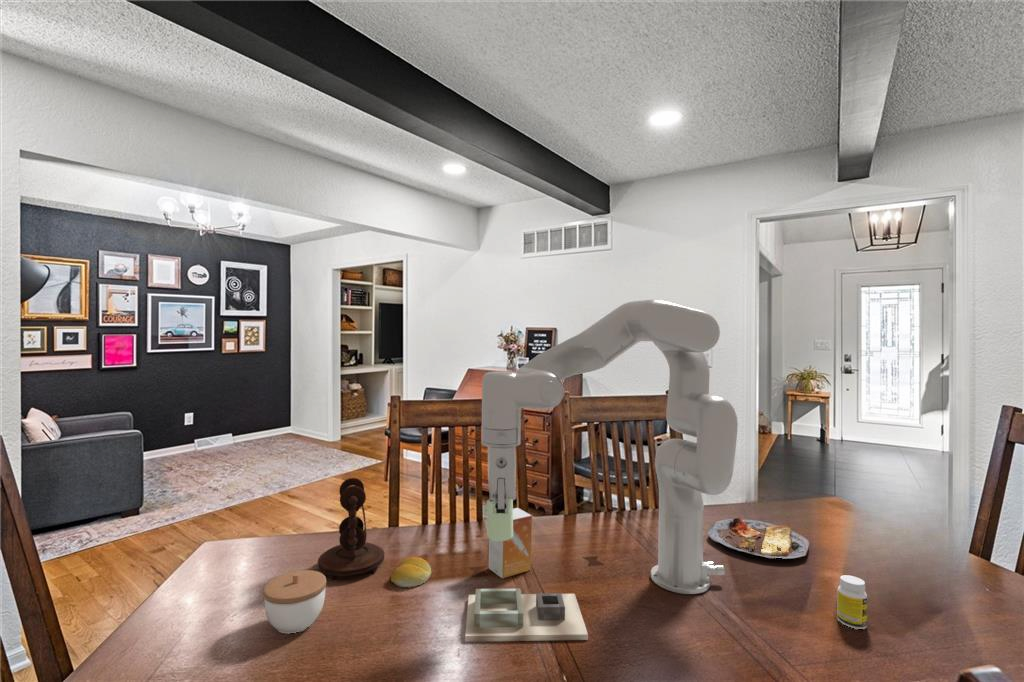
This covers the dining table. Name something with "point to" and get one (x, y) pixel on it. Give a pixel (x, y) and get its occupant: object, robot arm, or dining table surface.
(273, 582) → the lidded jar
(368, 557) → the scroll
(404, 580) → the bread roll
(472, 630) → the holder board
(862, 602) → the supplement bottle
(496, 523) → the candle
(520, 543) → the small box
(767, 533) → the food plate
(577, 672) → the dining table surface
